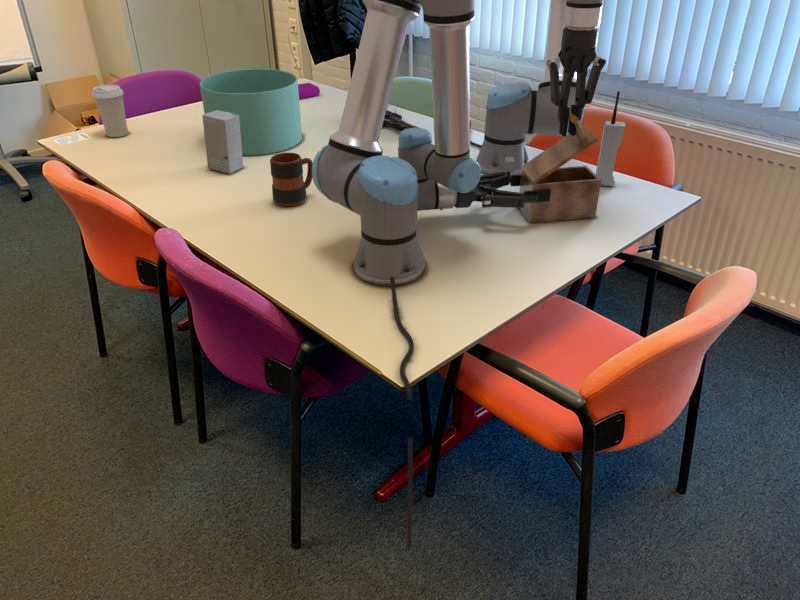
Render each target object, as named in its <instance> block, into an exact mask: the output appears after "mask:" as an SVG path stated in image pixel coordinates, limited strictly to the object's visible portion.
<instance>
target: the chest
mask: <svg viewBox="0 0 800 600" xmlns="http://www.w3.org/2000/svg"><path fill="white" fill-rule="evenodd" d="M601 186H602V185H601V179H600V178H599V177H598V176H597V175H596V172H594V171H593V170H592V169H591V168H589V167H588V166H587V165H579V166H577V165H576V166H566V167H564V166H563V167H559V168H558V169H557V170H555V171H554V172H552V173H551V174H549V175H548V176H546V177H545V178H543V179H542V180H541V181H539V182H538V183H536V184H534V183H533V182H532V181H531V180H530V179H529V177H528V176H527V175H526V174H525V173H524V171H521V181H520V186H519V192H518V193H524V191H535V190H551V195H550V201H545V202H530V203H524V207H523V208H518V209H519V210H520V212H521V213H522V215H523V216H524V217H525V218H526V220H527V221H528V223H529V224H533V223H534V224H535V223H541V222H542V223H543V222H545V223H546V222H557V221H567V220H579V219H590V218H596V216H597V209H598V203H599V197H600V191H601Z"/></svg>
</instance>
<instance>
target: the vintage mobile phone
mask: <svg viewBox="0 0 800 600" xmlns="http://www.w3.org/2000/svg"><path fill="white" fill-rule="evenodd" d="M616 92H617V93H616V98H615V104H614V109H613V112H612V118H611V120H606V121H604V124H603V128H602V129H603V130H602V135H601V141H600V147H599V153H598V159H597V163H596V170H595V174H596V175H597V176H598V177H599V178H600V179H601V186H606V187H614V186H615V183H616V181H615V177H614V168H615V165H616V160H617V153H618V148H619V147H620V145H621V144H622V140H623V138H624V134H625V130H626V122H624V121H616V118H617V112H618V104H619V100H620V93H621V92H620V91H616Z"/></svg>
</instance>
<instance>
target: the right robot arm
mask: <svg viewBox="0 0 800 600" xmlns="http://www.w3.org/2000/svg"><path fill="white" fill-rule="evenodd" d="M550 2H551V3H550V11H549V13H550V14H549V24H548V36H547V46H546V47H547V48H546V59H545V71H544V78H543V79H542V80H541V81H540V82H539V83H538V88H537V89H538V90H535V89H534V90H532V86H531V85H530V84H528V83H526V82H523V83H522V82H507V83H502V84H499V85H496V86H494V87H492V88H490V90H489V91H488V93H487V99H486V104H485V110H486V112H485V123H484V136H483V142H482V144H479V143H475V142H473V141H472V140H470V146H473V147H477V148H479V152H478V154H477V156H476V159H475V161H477V162H478V163H479V166H480V167H481V173H483V174H484V175H486V174H492V173H498V172H506V173H507V171H509V172H511V175H521V171H523V170H522V169H521V167H522V166H523V165H525V164H526V163H528V162H529V161H530V159H529V155H528V151H527V150H528V149H527V146H526V136H527V135H541V136H542V135H543V136H544V135H545V136H558V137H562V138H563V137H565V136H566V135H568V134H571V135H572V136H575V134H576V126H575V124H574V123H572V122H571V121H570V120H569V112H571V113H572V114H574V115H575V116H576V117H577V118H578V121H577V122H578V124H579V125H580V126H581V125H582V121H583V119H584V114H585V110H586V105H589V104H592V102H593V98H594V95H595V93H596V89H597V85H598V82H599V80H600V75H601V72H602V70H603V69H604V66H605V65H606V64H607V60H606V59H605V58H603V57H601V56H598V52H597V44H598V38H599V31H600V30H599V28H598V27H599V26H600V24H601V18H602V10H603V9H602V8H603V0H551V1H550ZM591 64H592V66H591ZM590 66H591V69H590V72H589V75H588V69H589V67H590ZM587 77H588V78H587ZM568 120H569V122H568ZM471 130H472V121H471V119H470V131H471ZM511 175H510V176H511Z"/></svg>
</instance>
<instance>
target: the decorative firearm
mask: <svg viewBox="0 0 800 600" xmlns="http://www.w3.org/2000/svg"><path fill="white" fill-rule="evenodd" d="M397 110H398V107H397V105H393V104H389V103H388V106H387V109H386V113H385V117H384V121H383V125H382V127H384V126H389V127H391V128H393V129H395V130H397V131H399V132H400V133H401V132H402V131H403V130H405V129H409V128H420V126H416V125H413V124H411V123H409V122H406V121H405V120H403V115H401V114H399V113H397Z"/></svg>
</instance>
